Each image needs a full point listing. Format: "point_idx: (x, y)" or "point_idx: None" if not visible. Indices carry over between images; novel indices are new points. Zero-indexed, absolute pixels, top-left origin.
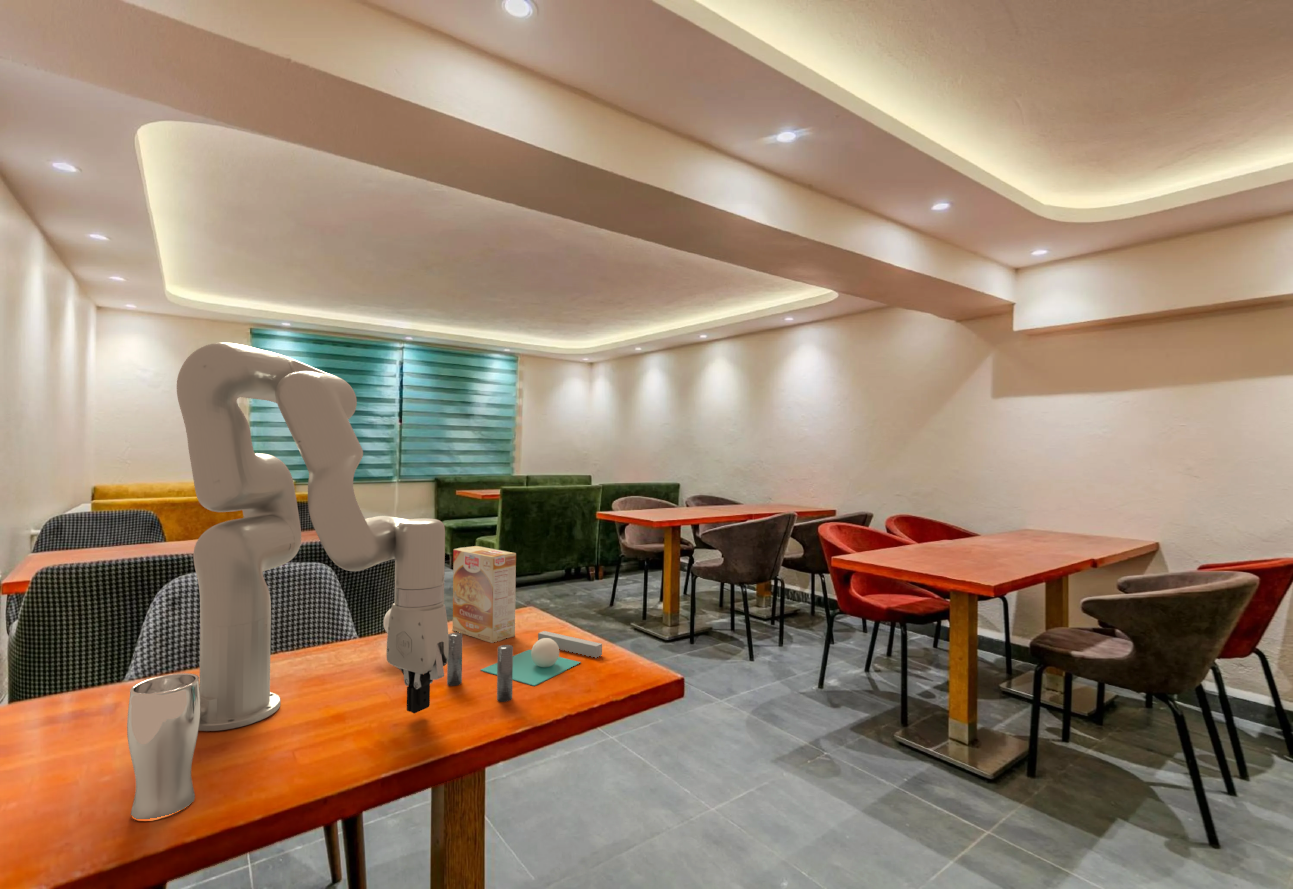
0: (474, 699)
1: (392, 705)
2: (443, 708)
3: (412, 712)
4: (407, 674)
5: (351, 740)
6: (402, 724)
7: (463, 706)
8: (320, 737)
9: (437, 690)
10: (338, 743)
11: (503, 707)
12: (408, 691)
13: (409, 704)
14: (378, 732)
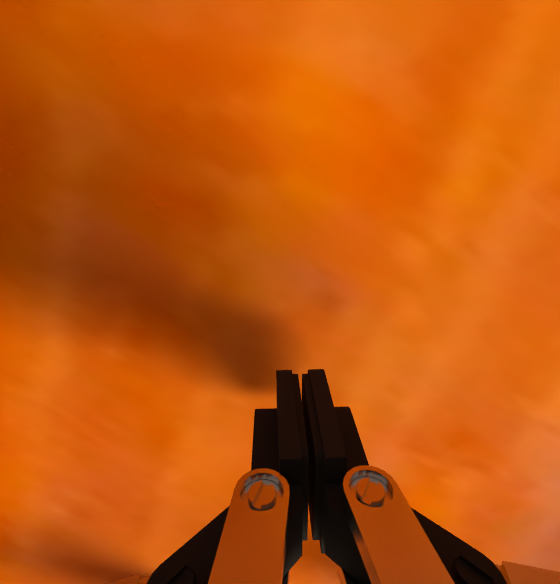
0: None
1: (485, 394)
2: None
3: (281, 370)
4: (378, 546)
5: (375, 89)
6: (305, 317)
7: None
8: (548, 10)
9: None
10: (406, 26)
11: (118, 567)
12: (326, 437)
13: (310, 390)
14: (332, 216)
